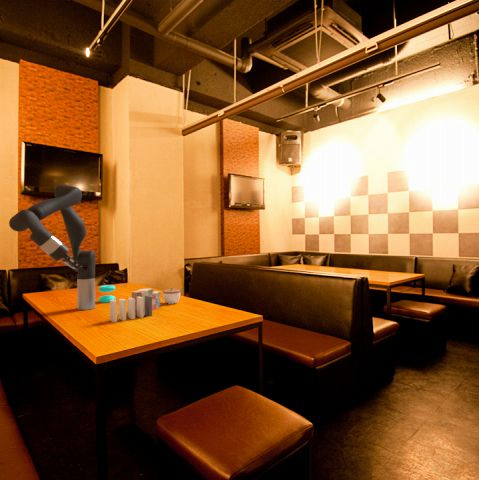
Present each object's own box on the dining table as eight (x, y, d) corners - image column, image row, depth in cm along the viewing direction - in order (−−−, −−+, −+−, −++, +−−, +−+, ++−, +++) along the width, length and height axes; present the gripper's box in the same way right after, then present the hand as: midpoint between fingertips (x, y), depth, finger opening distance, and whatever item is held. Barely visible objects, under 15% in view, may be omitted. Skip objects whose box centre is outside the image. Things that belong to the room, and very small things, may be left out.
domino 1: (110, 320, 162) (109, 300, 162) (113, 319, 163) (113, 299, 163) (113, 322, 158) (113, 301, 158) (116, 321, 159) (116, 301, 159)
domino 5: (145, 314, 173) (144, 295, 173) (148, 314, 174) (147, 295, 174) (149, 316, 169) (148, 296, 169) (152, 315, 170) (151, 296, 170)
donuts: (118, 284, 215) (110, 287, 205) (118, 300, 215) (110, 303, 205) (103, 284, 217) (95, 287, 207) (104, 300, 217) (95, 302, 207)
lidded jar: (160, 302, 206) (160, 287, 206) (175, 300, 212) (175, 286, 212) (167, 305, 197) (167, 289, 197) (183, 303, 204) (183, 288, 204)
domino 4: (136, 316, 170) (136, 296, 170) (139, 315, 171) (139, 296, 171) (140, 317, 167) (140, 298, 167) (143, 317, 168) (143, 297, 168)
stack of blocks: (150, 306, 194) (150, 285, 194) (160, 307, 193) (160, 286, 193) (131, 315, 173) (131, 291, 173) (142, 315, 172) (142, 292, 172)
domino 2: (119, 318, 165) (119, 298, 165) (122, 318, 166) (122, 298, 166) (122, 320, 161) (122, 300, 161) (126, 320, 162) (126, 299, 162)
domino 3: (128, 317, 168) (128, 297, 168) (131, 316, 169) (131, 297, 169) (131, 319, 164) (131, 299, 164) (135, 318, 165) (134, 298, 165)
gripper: (64, 241, 141) (94, 268, 148) (57, 241, 152) (86, 266, 159) (50, 254, 137) (82, 281, 145) (44, 253, 148) (74, 278, 156)
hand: (84, 273), depth 152 cm, fingers open, 5 cm apart
